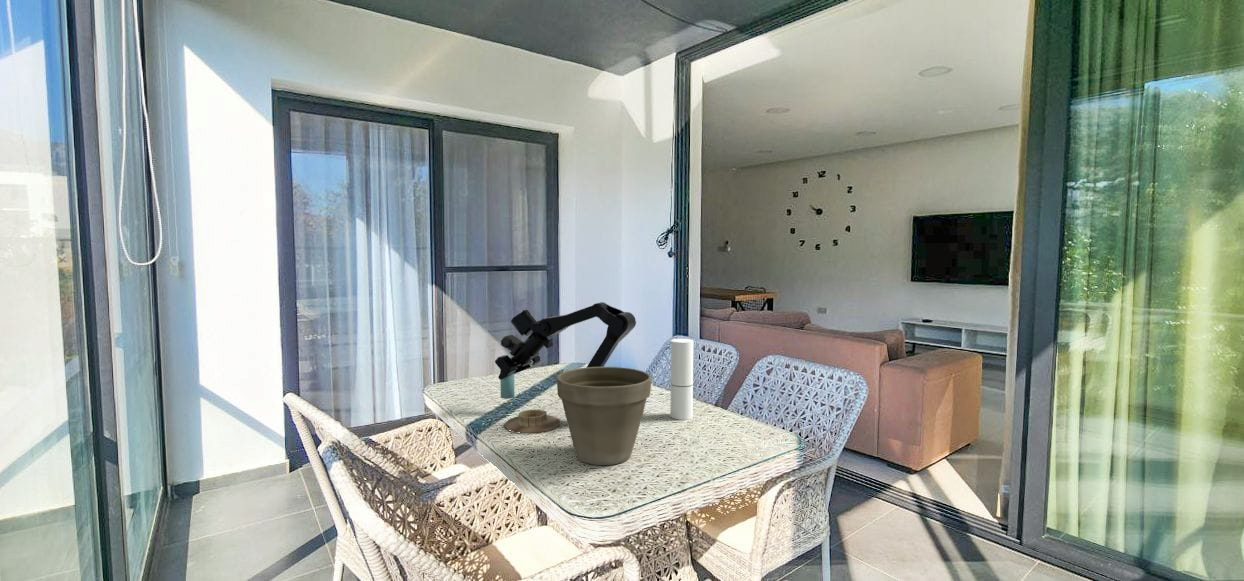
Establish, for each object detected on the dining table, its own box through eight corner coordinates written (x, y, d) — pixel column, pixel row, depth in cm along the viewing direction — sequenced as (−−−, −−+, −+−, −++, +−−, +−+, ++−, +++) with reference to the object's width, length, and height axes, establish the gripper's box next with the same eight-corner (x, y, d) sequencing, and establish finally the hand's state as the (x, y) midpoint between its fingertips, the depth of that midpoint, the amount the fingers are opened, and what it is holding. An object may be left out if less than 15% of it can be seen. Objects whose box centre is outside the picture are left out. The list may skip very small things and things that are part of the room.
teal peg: (517, 395, 188) (516, 357, 187) (509, 399, 184) (508, 360, 183) (505, 394, 190) (505, 356, 189) (497, 397, 186) (497, 358, 185)
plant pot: (600, 432, 168) (600, 361, 166) (669, 452, 152) (669, 373, 150) (537, 457, 149) (536, 376, 147) (608, 483, 133) (608, 392, 131)
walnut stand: (570, 420, 180) (570, 409, 180) (542, 436, 164) (542, 425, 164) (524, 413, 187) (524, 403, 186) (493, 429, 171) (493, 418, 171)
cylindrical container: (692, 413, 187) (693, 338, 185) (692, 420, 180) (693, 342, 177) (670, 412, 187) (671, 338, 185) (670, 419, 180) (670, 342, 178)
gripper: (532, 323, 192) (505, 353, 197) (499, 331, 175) (471, 364, 180) (552, 348, 189) (525, 377, 195) (521, 359, 172) (492, 390, 178)
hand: (503, 376), depth 187 cm, fingers closed on teal peg, 4 cm apart
